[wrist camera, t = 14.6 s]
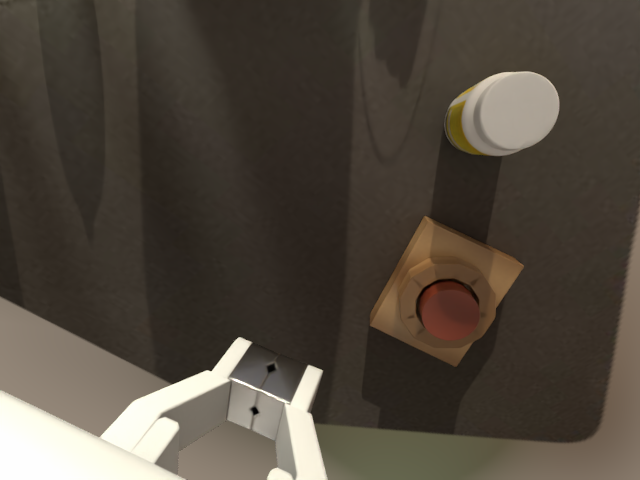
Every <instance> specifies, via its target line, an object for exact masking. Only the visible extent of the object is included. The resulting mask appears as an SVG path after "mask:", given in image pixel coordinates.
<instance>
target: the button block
mask: <svg viewBox="0 0 640 480" xmlns="http://www.w3.org/2000/svg"><path fill="white" fill-rule="evenodd" d="M523 268H524V266H523V265H522V264H521V263H520V262H518V261H517V260H516V259H515V258H513V257H511V256H509V255H507V254H505V253H503V252H501V251H499V250H497V249H494V248H492V247H490V246H488V245H486V244H484V243H482V242H480V241H477V240H475V239H473V238H471V237H469V236H467V235H465V234H463V233H460V232H458V231H456V230H454V229H452V228H450V227H448V226H446V225H443V224H441V223H439V222H437V221H435V220H433V219H431V218H429V217H426V216H424V217H423V219H422V221H421V223H420V225H419V226H418V228H417V230H416V232H415V234H414V236H413V237H412V239H411V241H410V243H409V245H408V246H407V248H406V250H405V252H404V254H403V255H402V257H401V259H400V261H399V263H398V264H397V266H396V268H395V270H394V272H393V273H392V275H391V277H390V279H389V281H388V283H387V284H386V286H385V288H384V290H383V292H382V293H381V295H380V297H379V299H378V301H377V302H376V304H375V306H374V308H373V310H372V311H371V313H370V326H372V327H374V328H376V329H378V330H380V331H382V332H384V333H386V334H388V335H390V336H392V337H395V338H397V339H399V340H401V341H403V342H405V343H407V344H409V345H411V346H413V347H415V348H417V349H419V350H422V351H424V352H426V353H428V354H430V355H432V356H434V357H436V358H438V359H440V360H442V361H444V362H446V363H449V364H451V365H453V366H455V367H457V365H458V364H459V362H460V361H461V359H462V358H463V356H464V355H465V353H466V352H467V350H468V349H469V347H470V346H471V344H472V343H473V342H474V341H476V340H478V339H480V338H482V336H483V335H484V334H485V332H486V331H487V329H488V328H489V326H490V325H491V323H492V322H493V320H494V319H495V316H496V307H497V306H498V305H499V303H500V302H501V300H502V299H503V297H504V296H505V294H506V293H507V291H508V290H509V288H510V287H511V285H512V284H513V282H514V281H515V279H516V278H517V276H518V275H519V273H520V272H521V271H522V269H523ZM441 281H453V282H457V283H459V284H461V285H463V286H464V287H466V288H467V289H468V290H469V292H470V293H471V294H472V296H473V298H474V299H475V301H476V303H477V304H478V307H479V310H480V319H479V323H478V325H477V327H476V328H475V330H474V331H473V332H472V333H471V334H469V335H468V336H466V337H465V338H462V339H459V340H453V341H447V340H442V339H439V338H437V337H435V336H433V335H432V334H430V333H429V332H428V331H427V329H426V328H425V326H424V324H423V321H422V318H421V314H420V310H419V302H420V298H421V296H422V294H423V292H424V291H425V290H426V289H427V288H428V287H430V286H431V285H433V284H435V283H438V282H441Z"/></svg>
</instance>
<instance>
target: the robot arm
mask: <svg viewBox="0 0 640 480" xmlns="http://www.w3.org/2000/svg"><path fill="white" fill-rule="evenodd" d="M322 374H323V370H321V369H318V368H315V367H313V366H310V365H308V364H306V363H303V362H300V361H298V360H295V359H293V358H290V357H287V356H285V355H282V354H279V353H276V352H274V351H272V350H269V349H267V348H265V347H262V346H260V345H258V344H255V343H252V342H250V341H248V340H245V339H243V338H241V337H239V338H237V339H236V340H235V341H234V343H233V344H232V345H231V346H230V348H229V349H228V350H227V352H226V353H225V354H224V356H223V357H222V358H221V360H220V361H219V362H218V364H217V365H216V366H215V367H214V369H213V370H212V371H208V370H206V371H204V372H202V373H199V374H197V375H194V376H192V377H190V378H187V379H185V380H182V381H180V382H178V383H175V384H173V385H170V386H168V387H166V388H163V389H161V390H159V391H156V392H154V393H151V394H149V395H147V396H144V397H142V398H139V399H137V400H135V401H133V402H132V403H131V404H130V405H129V407H128V408H127V409H126V410H125V411H124V412H123V413H122V414H121V415H120V416H119V417H118V418H117V419H116V421H115V422H114V423H113V424H112V425H111V426H110V427H109V428H108V429H107V430H106V431H105V432H104V433H103V435H102V436H101V437H100V438H99V437H97V436H95V435H93V434H91V433H89V432H87V431H85V430H83V429H81V428H79V427H77V426H74V425H72V424H70V423H68V422H66V421H64V420H62V419H60V418H58V417H55V416H54V415H51V414H50V413H47V412H45V411H43V410H41V409H39V408H37V407H35V406H33V405H31V404H29V403H26V402H25V401H23V400H21V399H18V398H16V397H14V396H12V395H10V394H8V393H6V392H4V391H2V390H0V480H187V479H184V478H183V477H180V476H178V452H179V451H180V450H182V449H183V448H185V447H187V446H188V445H190V444H191V443H193V442H194V441H196V440H198V439H199V438H201V437H202V436H204V435H205V434H207V433H208V432H210V431H212V430H213V429H215V428H216V427H218V426H219V425H221V424H222V423H224V422H226V420H228V421H231V422H233V423H236V424H238V425H241V426H243V427H246V428H248V429H250V430H253V431H255V432H257V433H259V434H261V435H263V436H265V437H267V438H270V439H272V440H274V441H276V442H275V446H276V456H277V467H278V468H275V469H272V470H271V471H270V473H269V475H268V477H267V480H327V476H326V472H325V467H324V463H323V459H322V455H321V451H320V447H319V443H318V439H317V435H316V430H315V426H314V422H313V418H312V414H310V412H311V409H312V406H313V403H314V400H315V397H316V394H317V390H318V387H319V384H320V381H321V377H322Z"/></svg>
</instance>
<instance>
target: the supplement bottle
mask: <svg viewBox="0 0 640 480" xmlns="http://www.w3.org/2000/svg"><path fill="white" fill-rule="evenodd" d="M558 113H559V97H558V94H557V91H556V89H555V87H554V86H553V85H552V83H551V82H550V81H549V80H548V79H546V78H545V77H543V76H542V75H539V74H537V73H533V72H504V73H499V74H496V75H493V76H491V77H488V78H487V79H485V80H483V81H481V82H480V83H478V84H476V85H475V86H473V87H471V88H469V89H468V90H466V91H464V92H463V93H461V94H460V95H459V96H458V97H457V98H455V99H454V101H453V102H452V103H451V105H450V107H449V108H448V111H447V113H446V117H445V124H444V126H445V132H446V135H447V138H448V140H449V141H450V142H451V144H452V145H453V146H454V147H455V148H457V149H458V150H460V151H462V152H465V153H468V154H478V155H490V156H504V155H509V154H513V153H515V152H518V151H520V150H522V149H524V148H528V147H530V146H532V145H534V144H536V143H538V142H539V141H541V140H542V139H543V138H544V137H545V136H546V135H547V134H548V133H549V132H550V131H551V129H552V128H553V126H554V124H555V122H556V120H557V117H558Z"/></svg>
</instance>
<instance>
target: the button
mask: <svg viewBox="0 0 640 480" xmlns="http://www.w3.org/2000/svg"><path fill="white" fill-rule="evenodd" d="M419 310H420V314H421V318H422V321H423V324H424V326H425V328H426V329H427V331H428V332H429V333H430V334H432V335H433V336H435V337H437V338H439V339H442V340H447V341H453V340H459V339H462V338H465V337H466V336H468V335H469V334H471V333H472V332H473V331H474V330H475V328H476V327H477V325H478V323H479V319H480V310H479V307H478V304H477V303H476V301H475V299H474V298H473V296H472V294H471V293H470V292H469V290H468V289H467V288H466V287H464V286H463V285H461V284H459V283H457V282H453V281H441V282H438V283H435V284H433V285H431V286H430V287H428V288H427V289H426V290H425V291H424V292H423V294H422V296H421V298H420V302H419Z"/></svg>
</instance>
